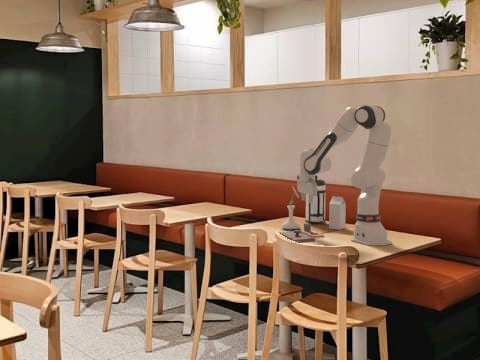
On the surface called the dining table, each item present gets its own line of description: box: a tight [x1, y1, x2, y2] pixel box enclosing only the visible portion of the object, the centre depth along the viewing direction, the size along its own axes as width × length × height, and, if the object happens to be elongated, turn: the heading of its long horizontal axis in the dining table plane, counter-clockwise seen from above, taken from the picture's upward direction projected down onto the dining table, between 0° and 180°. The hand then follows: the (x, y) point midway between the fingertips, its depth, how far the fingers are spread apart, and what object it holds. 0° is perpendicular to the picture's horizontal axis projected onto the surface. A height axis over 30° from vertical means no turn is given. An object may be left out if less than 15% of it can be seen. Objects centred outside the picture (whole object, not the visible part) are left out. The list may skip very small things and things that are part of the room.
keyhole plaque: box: [300, 222, 325, 239], centre depth 335 cm, size 17×7×5 cm, turn 17°
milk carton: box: [328, 195, 347, 230], centre depth 353 cm, size 7×7×19 cm
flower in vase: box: [281, 186, 301, 230], centre depth 352 cm, size 13×11×25 cm
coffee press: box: [304, 174, 327, 225], centre depth 371 cm, size 17×16×30 cm
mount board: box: [278, 229, 316, 243], centre depth 325 cm, size 22×12×4 cm, turn 17°
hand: (307, 201), depth 340 cm, fingers open, 8 cm apart
